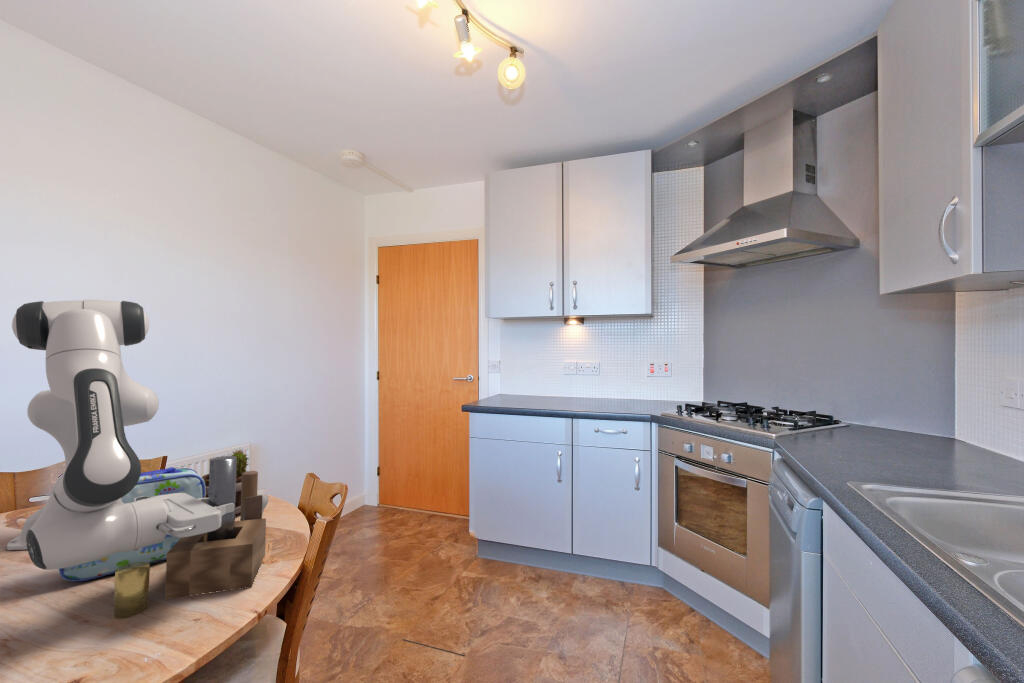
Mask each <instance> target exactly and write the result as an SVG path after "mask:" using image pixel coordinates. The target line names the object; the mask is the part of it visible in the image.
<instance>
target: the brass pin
mask: <svg viewBox="0 0 1024 683" xmlns="http://www.w3.org/2000/svg"><path fill="white" fill-rule="evenodd" d="M150 564H151V563H149V562H135V563H131V564H127V565H124V566H122V567H120V568H118V569H117V570H116V571H115V573H114V592H113V593H114V595H113V596H114V597H113V617H114V618H115V619H128V618H132V617H135V616H137V615H140V614H142V613H144V612H145V611H146V610H148V608H149V598H150V597H149V596H150V575H151V574H150V571H151V568H150V567H151V565H150Z"/></svg>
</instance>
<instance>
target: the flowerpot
mask: <svg viewBox="0 0 1024 683" xmlns="http://www.w3.org/2000/svg"><path fill="white" fill-rule="evenodd" d="M229 456H235V457H237V464H236V498H235V518H236V517H238V516H241V486H242V473H244V472H247V468H248V466H250V464H249V461H250V460H249V459H250V456H247V452H245V451H244V448H242V449H241V447H239V448H238V449H236V448H235V450H233V451H232V453H231V454H229ZM201 477H202V478H203V480H204V482H205V487H206V496H205V498H209V473H208V474H204V475H201Z"/></svg>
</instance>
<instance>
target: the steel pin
mask: <svg viewBox="0 0 1024 683" xmlns="http://www.w3.org/2000/svg"><path fill="white" fill-rule="evenodd" d="M236 464H237V457H235V456H232V455H231V456H230V455H224V456H216V457H213V458H209V472H208V474H209V499H208V505H210V506H212V507H215V506H216V507H219V506H221V505H223V504H224V503H228V502H231V503H234V505H235V498H236ZM235 521H236V517H235V506H234V511H233V512H229V513H226V514H224V515H222V520H221V527H220V528H219V529H217V530H215V531H211V532H207V542H208V541H217V540H226V539H234V533H235Z"/></svg>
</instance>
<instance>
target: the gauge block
mask: <svg viewBox="0 0 1024 683" xmlns="http://www.w3.org/2000/svg"><path fill="white" fill-rule="evenodd" d="M266 528H267V518H262V519H254V520H244V521H240V520H235V533H234V539H226V540H217V541H208V542H207V533H203V534H199V535H194V536H190V537H184V538H181V539H180V540H179V541H178V542H177V543H176V544H175V545H174V546H173V547H172V548H171V549H170V550H169V552H168V553H167V559H166V560H165V561H166V563H165V564H166V566H165V593H164V594H165V595H164V600H170V599H171V600H172V599H178V598H179V599H180V598H186V597H185V596H187V597H191V596H190V595H194V596H197V595H196V594H201V595H203V594H202V593H208V594H210V593H209V592H215V593H217V592H216V591H222V592H224V591H223V590H229V591H232V590H231V589H236V590H240V589H239V588H243V589H248V588H247V587H250V588H252V587H253V585H252V584H254V583H253V582H255V580H256V578H257V576H256V575H258V573H259V571H260V569H261V566H262V564H263V562H264V560H263V558H264V559H265V557H266V538H267V537H266V532H267V529H266ZM264 556H265V557H264ZM262 561H263V562H262ZM261 563H262V564H261ZM259 568H260V569H259ZM258 570H259V571H258ZM255 577H256V578H255ZM254 579H255V580H254ZM245 587H246V588H245Z"/></svg>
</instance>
